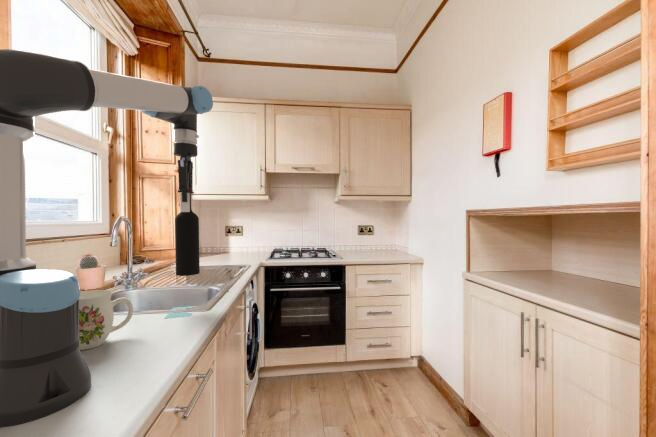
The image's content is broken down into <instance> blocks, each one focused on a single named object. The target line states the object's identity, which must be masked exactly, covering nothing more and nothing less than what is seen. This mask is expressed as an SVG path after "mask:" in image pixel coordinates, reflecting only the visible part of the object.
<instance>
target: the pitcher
mask: <svg viewBox="0 0 656 437" xmlns="http://www.w3.org/2000/svg"><path fill="white" fill-rule="evenodd" d="M112 295H113V291H112V290H109V289H108V290H107V289H95V290H94V289H93V290H84V291H83V290H82V291H80V297H79V348H80V351H86V350H91V349H95V348H97V347H100V346H102V345H103V344H104V343H105V341H106V340H107V339H108V337H109V335H110V334H111V333H113V332H115V331H118V330H119V329H122V328H124V327H125V326H126V325H127V324H128V323H129V322H130V321H131V319H132V317H133V315H134V314H133V313H134V306H133V303H132V301H131V299H129V298H128V297H124V296H123V297H119V298H116V299H114V300H111V299H112ZM119 303H125V304H126V306H127V309H128V311H127V315H126V316H125V318H124V319H123V320H122V321H120V322H119V323H118V324H115V325H114V319H115V314H114V313H115V312H114V307H115V306H116V305H118V304H119Z"/></svg>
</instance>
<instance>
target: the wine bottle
mask: <svg viewBox="0 0 656 437" xmlns="http://www.w3.org/2000/svg"><path fill="white" fill-rule="evenodd" d="M188 193H190V212H181V211H180V212H179V213H178V214H177V215H176V216H175V219H174V233H175V234H174V235H175V236H174V240H175V243H174V244H175V248H174V249H175V275H176V276H179V277H186V276H187V277H189V276H195V275H196V276H197V275H198V274H200V272H201V271H200V268H201V267H200V219H199V216H198V215H197V213H196V212H194V211H193V208H192V209H191V188H190V187H189V192H188Z"/></svg>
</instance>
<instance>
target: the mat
mask: <svg viewBox="0 0 656 437" xmlns="http://www.w3.org/2000/svg"><path fill="white" fill-rule="evenodd" d="M196 306H197V305H191V306H190V305H189V306H178V307H176V306H175V307H172V309H171V310H176V309H186V308H192V307H196ZM192 316H193V312H192V313H188V312H181V313H173V312H172V313H171V312H170V311H169V312H168V313H167V315H165V317H164V319H173V318H174V319H175V318H185V317H192ZM164 319H163V320H164Z"/></svg>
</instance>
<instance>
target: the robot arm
mask: <svg viewBox="0 0 656 437" xmlns="http://www.w3.org/2000/svg"><path fill="white" fill-rule="evenodd" d="M213 106H214V101H213V96H212V94H211V92H210V90H209V89H208V88H207V87H205V86H203V85H193V86H191V87H188V86H182V85H176V84H171V83H165V82H161V81H154V80H151V79H144V78H140V77H136V76H135V77H134V76H130V75H129V76H128V75H124V74H118V73H114V72H113V73H112V72H108V71H103V70H97V69H92V68H89V67H88V66H87V65H86V64H84V63H83V62H81V61H78V60H72V59H68V58H64V57H58V56H53V55H49V54H48V55H47V54H44V53H39V52H33V51H27V50H19V49H9V48H7V49H6V48H5V49H4V48H3V49H0V428H4V427H11V426H15V425H22V424H25V423H29V422H33V421H36V420H39V419H43V418H44V417H47V416H51V415H52V414H55V413H57V412H59V411H62V410H64V409H66V408H68V407H70V406H72V405H73V404H75V403H76V402H78V401H79V400H81V399H82V398H83V397H85V395H86V394H88V392H89V391H90V389H91V387H92V374H91V370H90V369H89V367H88V364H87V363H86V360H85V358H84V356H83V354H82V350H80V348H79V297H80V292H81V291H80V285H79V280H78V278H77V276H76V275H75V274H74V273H72V272H70V271H65V270H61V269H46V268H45V269H43V268H42V269H39V268H38V269H37V262H35V260H32V258H29V257H28V256H27V249H26V248H27V244H26V243H27V241H26V240H27V237H26V236H27V232H26V229H27V227H26V222H27V220H26V141H28V140H29V139H31V138H33V137H34V136H35V132H36V130H35V128H36V127H35V126H36V124H35V123H36V122H35V117H38V116H42V115H47V114H53V113H59V112H68V111H69V112H70V111H78V112H87V111H90V110H91V109H92V108H105V109H106V108H108V109H120V110H132V111H140V112H141V113H142V114H144V115H147V116H149V117H151V118H155V119H158V120H161V121H164V122H167V123H170V124H172V141H173V145H172V146H173V148H172V150H173V152H172V153H173V155H174V156H176V157H179V159H178V160H177V166H178V167H177V168H178V189H177V193H180V195H179V196H180V212H190V193H188V192H189V187H190V188H191V209H192V210H193V205H192V204H193V199H192V198H193V197H192V195H194V194H195V192H194V190H193V176H194V175H193V174H194V172H193V169H194V166H193V165H194V164H193V162H194V161H192V159H191V158H194V157H197V156H198V145H197V144H198V139H199V138H200V135H198V115H203V114H206V113H209V112H211V110H212V109H213Z"/></svg>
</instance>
